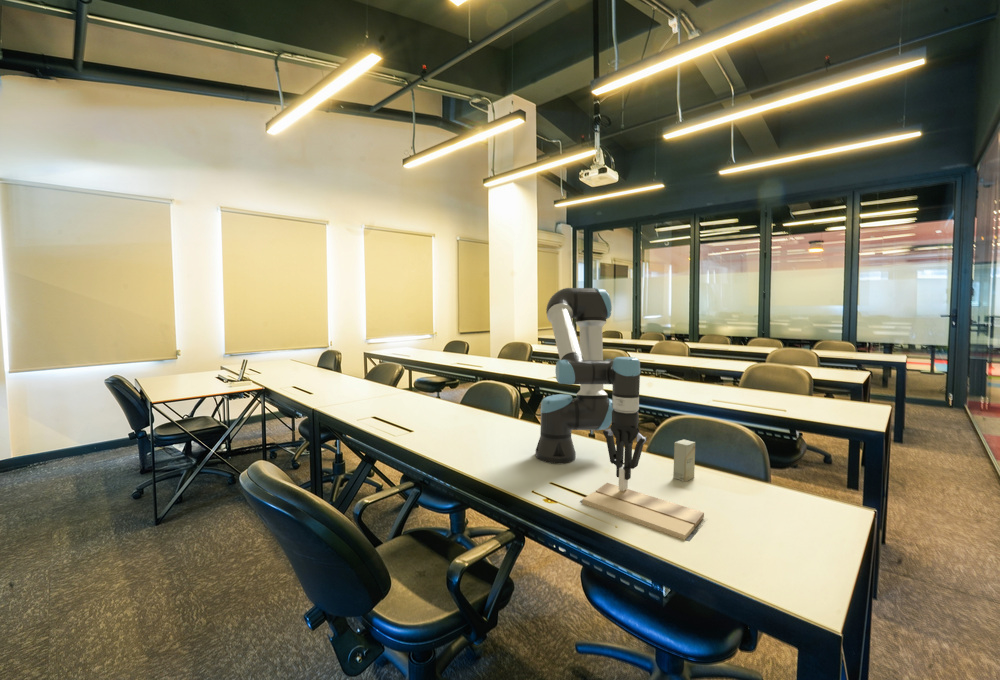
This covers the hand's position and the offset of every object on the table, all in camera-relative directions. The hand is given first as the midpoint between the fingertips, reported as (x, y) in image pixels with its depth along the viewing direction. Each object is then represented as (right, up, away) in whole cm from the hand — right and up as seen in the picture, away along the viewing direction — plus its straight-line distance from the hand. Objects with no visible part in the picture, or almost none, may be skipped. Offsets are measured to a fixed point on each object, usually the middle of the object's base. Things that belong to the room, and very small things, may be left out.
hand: (623, 488), depth 123 cm
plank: (+5, -2, -6) cm, 8 cm away
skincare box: (+25, -2, +17) cm, 30 cm away
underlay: (+2, -4, -9) cm, 10 cm away
